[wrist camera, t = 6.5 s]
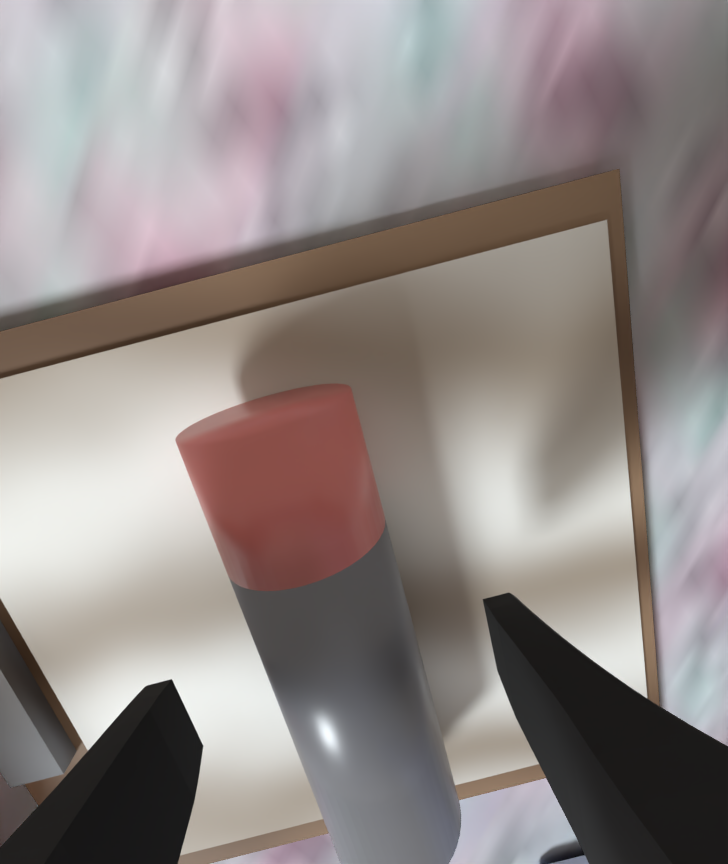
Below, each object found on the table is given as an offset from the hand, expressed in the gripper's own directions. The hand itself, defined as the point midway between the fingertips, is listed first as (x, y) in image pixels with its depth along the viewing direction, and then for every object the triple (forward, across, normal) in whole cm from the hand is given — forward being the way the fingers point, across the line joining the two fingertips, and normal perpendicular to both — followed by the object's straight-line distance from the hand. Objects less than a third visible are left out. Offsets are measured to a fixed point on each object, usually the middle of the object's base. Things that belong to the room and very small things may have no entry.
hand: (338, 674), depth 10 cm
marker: (+2, +1, 0) cm, 3 cm away
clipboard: (+3, +1, 0) cm, 4 cm away
